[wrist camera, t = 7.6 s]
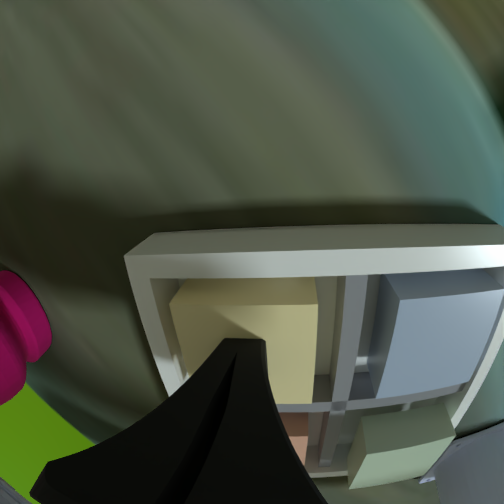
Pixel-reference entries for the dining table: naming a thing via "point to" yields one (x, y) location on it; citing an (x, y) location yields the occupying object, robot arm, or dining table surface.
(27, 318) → the pepper mill
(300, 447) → the terracotta key
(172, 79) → the dining table surface
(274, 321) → the mustard key
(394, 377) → the slate-blue key
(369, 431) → the sage key
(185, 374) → the keypad base
